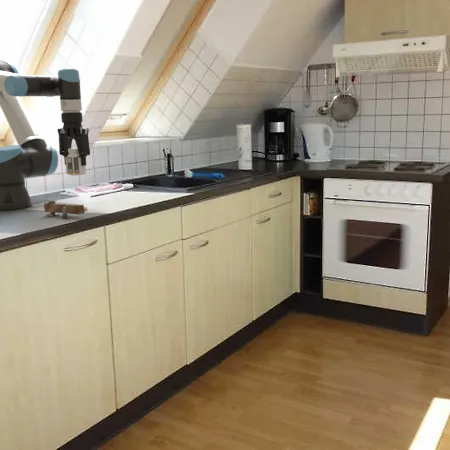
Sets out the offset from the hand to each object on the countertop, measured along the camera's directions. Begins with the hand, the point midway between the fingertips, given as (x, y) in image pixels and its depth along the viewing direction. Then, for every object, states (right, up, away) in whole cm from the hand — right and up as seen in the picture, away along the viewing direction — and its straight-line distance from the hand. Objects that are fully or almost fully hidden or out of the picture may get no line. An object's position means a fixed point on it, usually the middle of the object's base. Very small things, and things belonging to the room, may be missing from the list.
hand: (76, 174), depth 221 cm
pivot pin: (-5, -16, -11) cm, 20 cm away
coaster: (0, -14, -3) cm, 14 cm away
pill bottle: (0, 0, 0) cm, 0 cm away
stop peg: (+1, -17, -18) cm, 25 cm away
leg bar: (-1, -15, -14) cm, 20 cm away
